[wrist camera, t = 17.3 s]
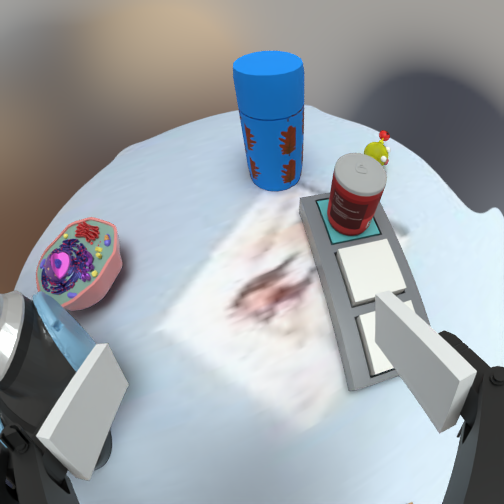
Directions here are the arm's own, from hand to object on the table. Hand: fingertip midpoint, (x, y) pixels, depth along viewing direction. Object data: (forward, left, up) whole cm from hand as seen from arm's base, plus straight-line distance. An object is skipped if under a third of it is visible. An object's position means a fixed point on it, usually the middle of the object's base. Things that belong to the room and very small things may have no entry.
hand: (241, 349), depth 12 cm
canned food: (+18, +22, -26) cm, 38 cm away
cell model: (-30, +23, -30) cm, 48 cm away
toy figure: (+30, +36, -30) cm, 55 cm away
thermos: (+9, +39, -30) cm, 50 cm away
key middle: (+18, +12, -28) cm, 35 cm away
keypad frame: (+18, +12, -30) cm, 37 cm away
